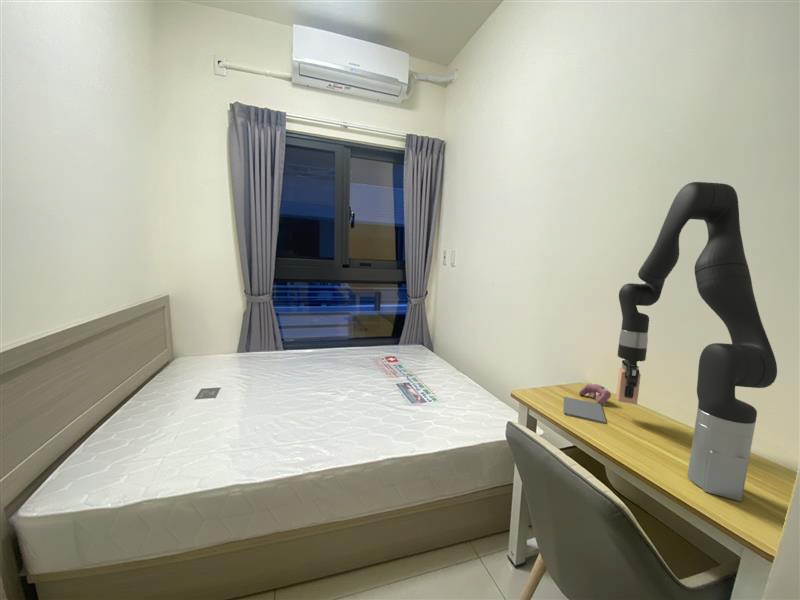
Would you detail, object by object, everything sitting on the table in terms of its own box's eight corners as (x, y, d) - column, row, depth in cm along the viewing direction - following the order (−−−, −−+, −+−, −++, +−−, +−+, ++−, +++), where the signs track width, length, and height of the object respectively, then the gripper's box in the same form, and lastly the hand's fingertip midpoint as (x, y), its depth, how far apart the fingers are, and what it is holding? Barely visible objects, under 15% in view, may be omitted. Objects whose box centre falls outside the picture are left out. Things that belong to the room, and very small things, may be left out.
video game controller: (606, 409, 117) (615, 392, 117) (598, 404, 116) (607, 387, 116) (584, 398, 127) (592, 382, 127) (576, 393, 125) (585, 378, 126)
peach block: (637, 404, 103) (640, 374, 102) (618, 401, 105) (621, 371, 104) (633, 399, 107) (637, 370, 107) (616, 396, 110) (619, 367, 109)
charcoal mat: (605, 423, 102) (606, 422, 102) (563, 414, 107) (564, 412, 107) (600, 405, 116) (600, 403, 116) (563, 398, 122) (563, 396, 122)
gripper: (652, 350, 97) (645, 404, 98) (641, 342, 110) (636, 390, 111) (622, 346, 100) (616, 399, 101) (615, 339, 113) (610, 386, 114)
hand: (626, 394), depth 106 cm, fingers closed on peach block, 5 cm apart
